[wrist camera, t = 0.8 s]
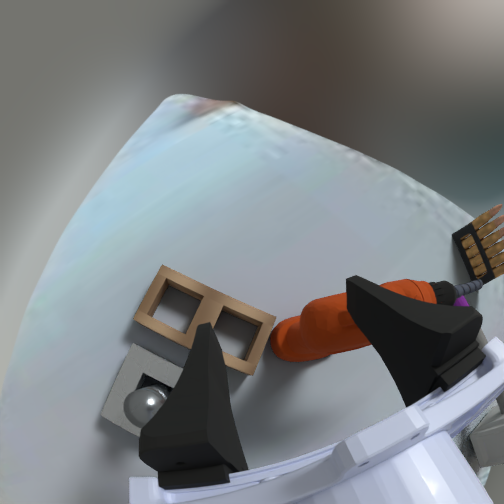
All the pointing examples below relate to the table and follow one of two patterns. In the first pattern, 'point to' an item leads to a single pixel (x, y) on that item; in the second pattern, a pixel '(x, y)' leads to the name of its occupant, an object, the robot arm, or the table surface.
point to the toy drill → (348, 320)
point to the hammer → (488, 422)
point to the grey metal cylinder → (144, 403)
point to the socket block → (137, 382)
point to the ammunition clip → (482, 246)
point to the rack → (205, 316)
